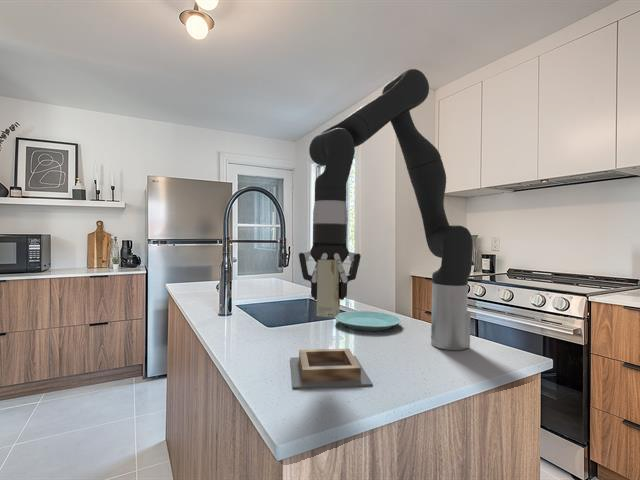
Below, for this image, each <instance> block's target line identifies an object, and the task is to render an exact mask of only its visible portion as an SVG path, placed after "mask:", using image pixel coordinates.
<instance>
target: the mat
mask: <svg viewBox="0 0 640 480" xmlns="http://www.w3.org/2000/svg"><path fill="white" fill-rule="evenodd" d="M353 356H354V357H355V359H356V361H357V362H358V364H359V366H360V367H361V380H349V381H322V382H302V377H301V370H300V363H299V356H298V357H297V356H296V357H293V356H292V357H290V358H289V359H290V372H291V373H290V374H291V382H292V383H291V385H292V386H291V387H292V390H304V389H325V388H326V389H329V388H350V387H351V388H353V387H354V388H355V387H356V388H358V387H373V386H374V384H373V382H372V381H371V379H370V377H369V375H368V374H367V372H366V370H365V368H363V366H362V364H361V363H360V361H359V359H358V358H357V356H356V355H353ZM308 363H309V367H318V366H346V364H345V362H344V361H339V362H308Z"/></svg>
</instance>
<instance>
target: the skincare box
mask: <svg viewBox="0 0 640 480" xmlns="http://www.w3.org/2000/svg"><path fill="white" fill-rule="evenodd" d="M340 282H341V280H340V274H339V270H338V261H337V260H318V268H317V300H316V317H323V318H334V319H336V318H335V317H336V316H337V315H338V314H339V313H341V310H340V309H341V306H340V305H341V300H340V298H339V291H340Z"/></svg>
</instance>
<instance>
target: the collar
mask: <svg viewBox="0 0 640 480" xmlns="http://www.w3.org/2000/svg"><path fill="white" fill-rule="evenodd" d="M354 356H355V355H353V353H352V351H351V349H350V348H320V349H318V348H317V349H316V348H315V349H299V350H298V357H299V363H300V370H301V377H302V382H322V381H349V380H361V367H360V366H359V364H358V362H357V361H356V359H355V357H354ZM339 361H344V362H345V364H346V366H318V367H309V363H308V362H339Z"/></svg>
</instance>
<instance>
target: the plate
mask: <svg viewBox="0 0 640 480" xmlns="http://www.w3.org/2000/svg"><path fill="white" fill-rule="evenodd" d="M334 319H336V320H337V321H338V322H339V323H341V324H343V325H345V326H346V327H347V326H348V328H349V327H350V329H352V328H353V330H358V331H365V332H366V331H367V332H368V331H369V332H378V331H379V332H380V331H385V330H388V329H390V328H392V327H394V326H396V325H399V324H401V322H402V319H401V318H400V317H399V316H396V315H394V314H391V313H390V314H389V313H386V312H381V311H372V310H353V311H352V310H351V311H343V312H339V314H338V315H337V316H336V317H335V318H334Z"/></svg>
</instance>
